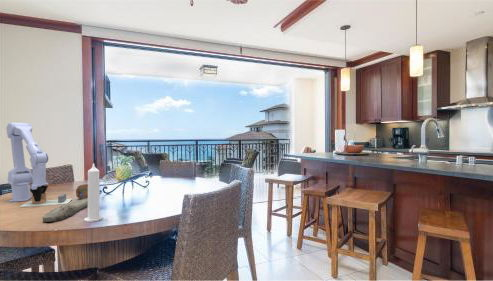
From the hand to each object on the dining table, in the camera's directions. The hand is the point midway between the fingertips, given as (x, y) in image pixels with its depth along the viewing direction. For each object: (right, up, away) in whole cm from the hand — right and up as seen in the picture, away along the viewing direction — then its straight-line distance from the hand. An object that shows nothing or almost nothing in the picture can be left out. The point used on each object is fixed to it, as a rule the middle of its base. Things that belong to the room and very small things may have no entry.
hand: (39, 200), depth 146 cm
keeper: (0, -2, 0) cm, 2 cm away
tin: (+16, -2, +16) cm, 23 cm away
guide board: (+4, -2, +1) cm, 4 cm away
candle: (+44, -3, -27) cm, 52 cm away
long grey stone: (+26, -3, -15) cm, 30 cm away
